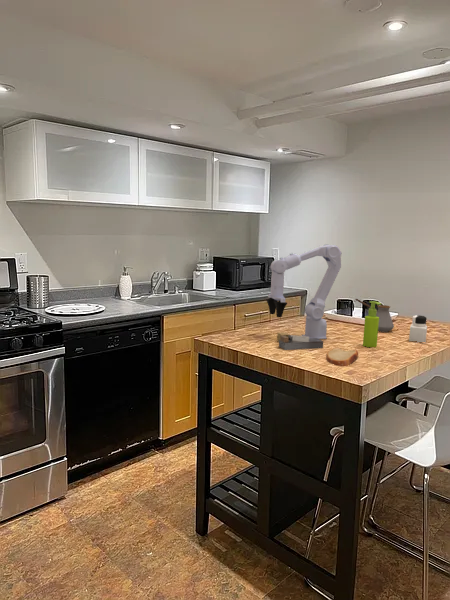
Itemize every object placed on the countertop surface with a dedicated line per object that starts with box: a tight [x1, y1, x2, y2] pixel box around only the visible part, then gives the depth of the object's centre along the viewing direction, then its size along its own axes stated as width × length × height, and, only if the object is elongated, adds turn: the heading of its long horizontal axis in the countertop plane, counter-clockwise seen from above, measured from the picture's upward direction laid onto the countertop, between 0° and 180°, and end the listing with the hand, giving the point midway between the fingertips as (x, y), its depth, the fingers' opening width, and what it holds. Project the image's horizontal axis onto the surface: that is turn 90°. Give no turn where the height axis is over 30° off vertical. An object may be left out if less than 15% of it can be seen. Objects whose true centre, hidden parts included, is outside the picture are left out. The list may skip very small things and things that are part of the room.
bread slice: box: [325, 347, 359, 367], centre depth 185 cm, size 18×18×4 cm
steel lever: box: [288, 334, 309, 342], centre depth 199 cm, size 9×2×2 cm, turn 76°
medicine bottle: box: [408, 314, 428, 343], centre depth 220 cm, size 7×7×12 cm
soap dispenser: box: [362, 300, 382, 348], centre depth 206 cm, size 6×7×20 cm
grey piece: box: [278, 335, 324, 351], centre depth 201 cm, size 18×6×5 cm, turn 107°
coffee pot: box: [354, 298, 395, 333], centre depth 243 cm, size 21×12×15 cm, turn 53°
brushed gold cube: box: [276, 332, 291, 343], centre depth 210 cm, size 4×4×4 cm
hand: (275, 315), depth 217 cm, fingers open, 7 cm apart
